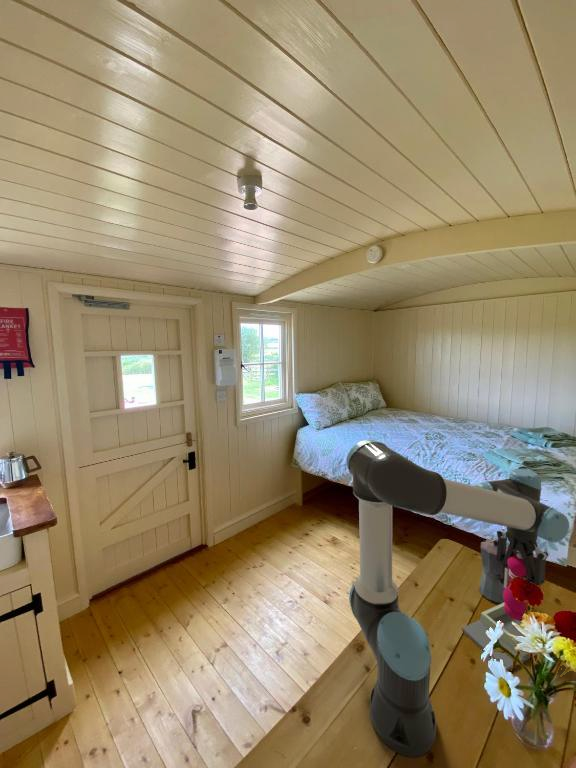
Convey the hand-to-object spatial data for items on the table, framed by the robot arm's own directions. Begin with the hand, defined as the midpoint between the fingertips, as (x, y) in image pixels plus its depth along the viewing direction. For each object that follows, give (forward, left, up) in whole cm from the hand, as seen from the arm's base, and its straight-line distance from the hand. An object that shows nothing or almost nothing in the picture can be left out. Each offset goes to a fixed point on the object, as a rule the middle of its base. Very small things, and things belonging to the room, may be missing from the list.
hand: (517, 593), depth 99 cm
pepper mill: (0, 0, -7) cm, 7 cm away
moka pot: (+9, +13, -14) cm, 21 cm away
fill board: (-4, 0, -14) cm, 14 cm away
